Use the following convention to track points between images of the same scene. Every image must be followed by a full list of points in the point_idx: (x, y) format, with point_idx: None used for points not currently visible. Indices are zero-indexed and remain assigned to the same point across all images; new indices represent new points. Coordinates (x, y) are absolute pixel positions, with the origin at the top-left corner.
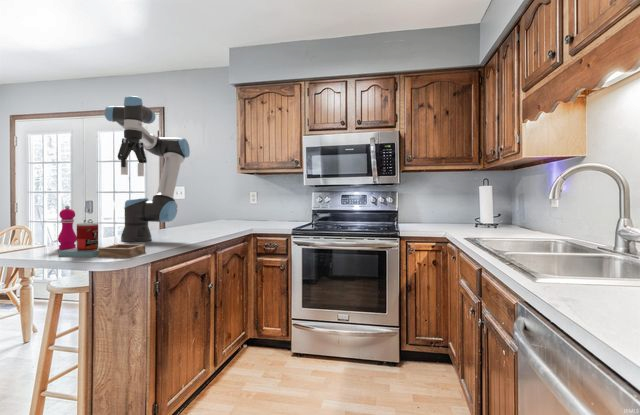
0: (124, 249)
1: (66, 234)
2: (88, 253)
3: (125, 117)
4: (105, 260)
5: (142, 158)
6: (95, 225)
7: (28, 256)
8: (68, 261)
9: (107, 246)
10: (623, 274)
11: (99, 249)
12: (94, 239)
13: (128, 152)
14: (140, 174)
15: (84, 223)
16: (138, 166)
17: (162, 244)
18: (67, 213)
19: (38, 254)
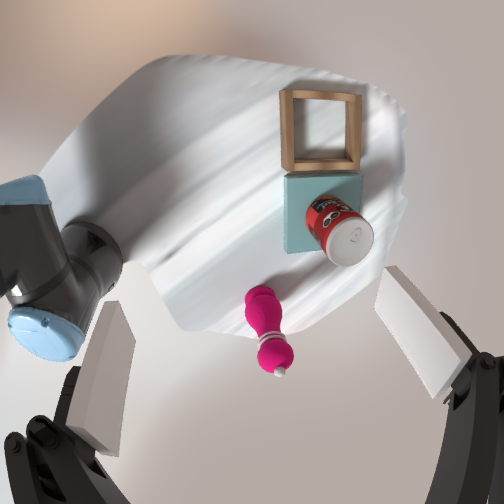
0: (360, 106)
1: (279, 312)
2: (360, 183)
3: None
4: (384, 126)
5: (86, 490)
6: (356, 216)
7: (352, 282)
8: (395, 186)
9: (333, 166)
10: None
11: (357, 166)
12: (342, 202)
13: (493, 443)
14: (124, 332)
15: (338, 261)
16: (119, 416)
17: (123, 135)
18: (290, 349)
19: (333, 286)
